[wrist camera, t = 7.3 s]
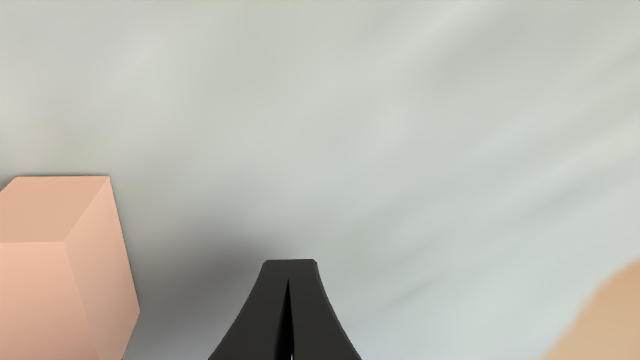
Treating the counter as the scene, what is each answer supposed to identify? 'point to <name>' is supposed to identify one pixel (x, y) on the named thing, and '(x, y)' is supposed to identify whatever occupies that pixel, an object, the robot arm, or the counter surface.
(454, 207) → the counter surface
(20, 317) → the peach and white mallet
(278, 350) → the robot arm
